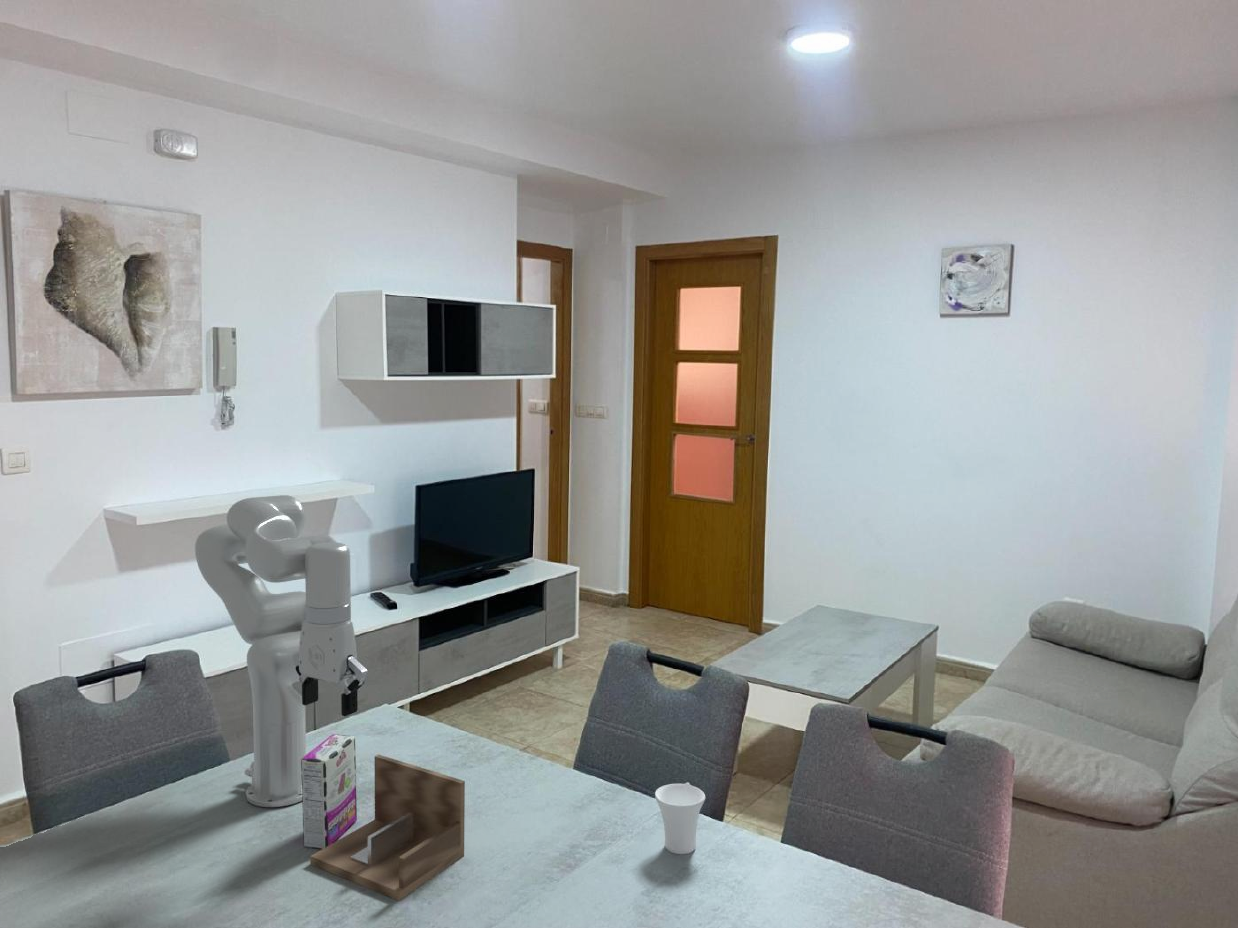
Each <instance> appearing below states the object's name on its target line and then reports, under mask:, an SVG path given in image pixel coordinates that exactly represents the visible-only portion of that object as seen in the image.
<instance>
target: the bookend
mask: <svg viewBox="0 0 1238 928" xmlns="http://www.w3.org/2000/svg"><path fill="white" fill-rule="evenodd" d="M412 841H413V813H410V812H409V813H407V814H406V815H404V816H402V817H400V818H399V819H397V820H395V821H394V822H392V823H390V824H389V825H387V826H385V827H383V828H382V829H380V830H378V831H377V832H375V833H373V834H371V835H370V836H368V847H366V848H364V849H363V850H361V851H359V852H358V853H356V854H354V855H352V856H351V857H350V859H353V860H355V861H358V862H360V863H363V864H365V865H368V866H371V867H372V866H373V865H375V864H376V863H378V862H380V861H381V860H383V859H384V858H386V857H388V856H389V855H391V854H392V853H394V852H396V851H397V850H399V849H400V848H402V847H404V846H405V845H407V844H408V843H410V842H412Z"/></svg>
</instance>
